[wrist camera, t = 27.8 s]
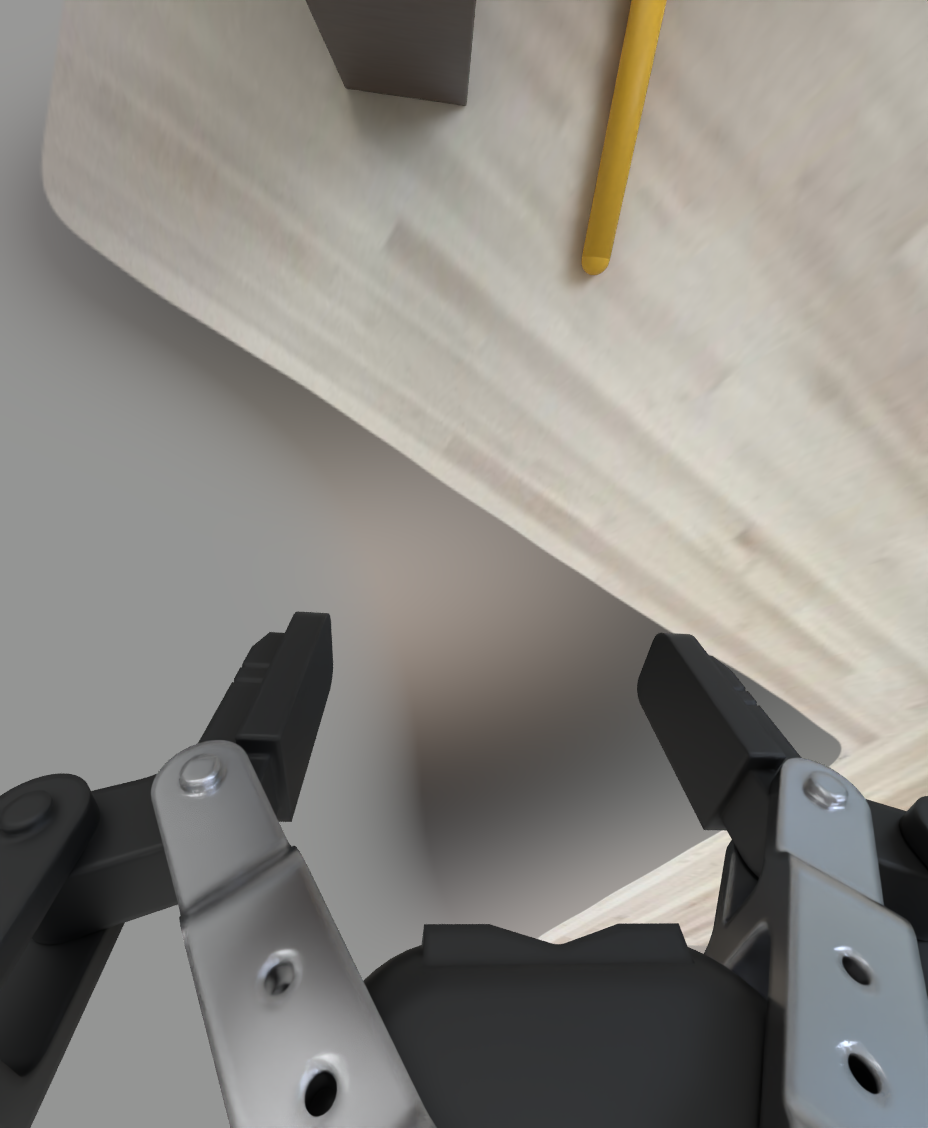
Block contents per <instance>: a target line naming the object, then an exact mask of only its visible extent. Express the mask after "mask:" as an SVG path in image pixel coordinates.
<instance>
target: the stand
mask: <svg viewBox="0 0 928 1128" xmlns="http://www.w3.org/2000/svg"><path fill="white" fill-rule="evenodd" d="M306 2H307V5H308V7H309V9H310V11H311V13H312V16H313V18H314V20H315V22H316V24H317V26H318V29H319V31H320V33H321V35H322V37H323V40H324V42H325V44H326V46H327V48H328V51H329V53H330V55H331V57H332V59H333V61H334V64H335V66H336V68H337V70H338V72H339V75H340V77H341V79H342V81H343V83H344V86H345V88H347V89H354V90H361V91H368V92H375V93H382V94H388V95H395V96H402V97H409V98H416V99H423V100H430V101H437V102H444V103H450V104H457V105H464V106H465V105H466V104H467V94H468V83H469V72H470V61H471V50H472V39H473V28H474V17H475V6H476V0H306Z"/></svg>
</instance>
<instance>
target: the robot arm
mask: <svg viewBox="0 0 928 1128" xmlns="http://www.w3.org/2000/svg"><path fill="white" fill-rule="evenodd" d="M332 674H333V654H332V635H331V619H330V615H329V614H328V613H311V612H295V614H294V615H293V617H292V619H291V621H290V623H289V626H288V628H287V630H286V632H285V633H275V632H269V633H268V634H267V635H266V636H265V637H263V638H262V639H261V640H260V641H258V642H257V643H256V644H255V645H254V646H252V648H251V649H250V651H249V653H248V655H247V657H246V659H245V660H244V662H243V664H242V668H240V669H239V671H238V673H237V674H236V676H235V678H234V683H233V682H232V683H231V685H230V687H229V689H228V691H227V692H226V694H225V696H224V698H223V700H222V701H221V703H220V705H219V707H218V709H217V710H216V712H215V714H214V716H213V718H212V719H211V721H210V723H209V725H208V726H207V728H206V730H205V732H204V734H203V735H202V737H201V739H200V740H199V742H198V743H197V744H196V745H193V746H190V747H188V748H186V749H184V750H183V751H181V752H179V753H178V754H176V755H175V756H174V757H173V758H171V759H170V760H169V761H168V762H167V763H166V764H165V765H164V766H163V767H162V768H161V769H160V771H159V772H158V774H155V775H153V776H150V777H147V778H143V779H140V780H136V781H131V782H127V783H123V784H119V785H115V786H111V787H107V788H102V789H98V790H94V791H90V788H89V787H88V785H87V783H86V782H85V781H84V780H83V779H82V778H80V777H78V776H76V775H72V774H51V775H46V776H42V777H39V778H35V779H32V780H30V781H28V782H25V783H22V784H20V785H18V786H16V787H14V788H12V789H10V790H9V791H7V792H6V793H4V794H2V795H1V796H0V1128H30V1127H31V1125H32V1123H33V1121H34V1119H35V1116H36V1114H37V1112H38V1110H39V1108H40V1105H41V1103H42V1101H43V1099H44V1097H45V1095H46V1092H47V1090H48V1088H49V1086H50V1084H51V1082H52V1079H53V1077H54V1075H55V1073H56V1071H57V1068H58V1066H59V1064H60V1062H61V1060H62V1058H63V1056H64V1053H65V1051H66V1049H67V1047H68V1045H69V1042H70V1040H71V1038H72V1036H73V1034H74V1031H75V1029H76V1027H77V1025H78V1023H79V1021H80V1018H81V1016H82V1014H83V1012H84V1010H85V1008H86V1006H87V1003H88V1001H89V999H90V997H91V994H92V992H93V990H94V988H95V986H96V984H97V982H98V979H99V977H100V975H101V973H102V971H103V969H104V966H105V964H106V962H107V960H108V958H109V955H110V953H111V951H112V949H113V947H114V945H115V943H116V940H117V938H118V936H119V934H120V932H121V929H122V927H123V925H124V923H125V922H127V921H130V920H133V919H136V918H139V917H142V916H145V915H148V914H151V913H154V912H156V911H160V910H163V909H166V908H168V907H171V906H174V905H177V904H178V905H179V909H180V915H181V916H180V926H181V931H182V935H183V940H184V944H185V948H186V952H187V956H188V960H189V964H190V968H191V972H192V976H193V980H194V984H195V988H196V992H197V996H198V1000H199V1004H200V1008H201V1012H202V1016H203V1020H204V1024H205V1028H206V1032H207V1036H208V1040H209V1044H210V1048H211V1052H212V1056H213V1060H214V1064H215V1068H216V1072H217V1076H218V1080H219V1084H220V1088H221V1092H222V1096H223V1100H224V1104H225V1108H226V1112H227V1116H228V1120H229V1124H230V1128H928V796H925V797H921V798H920V799H918V800H917V801H916V802H915V803H914V804H913V805H912V806H911V807H910V809H909V810H908V811H904V810H900V809H897V808H894V807H890V806H887V805H884V804H880V803H877V802H874V801H870V800H867V799H865V798H864V797H863V795H862V794H861V793H860V792H859V790H858V789H857V788H856V787H855V786H854V785H853V784H852V783H851V782H849V781H848V780H847V779H846V778H845V777H843V776H842V775H840V774H839V773H837V772H836V771H834V770H833V769H831V768H829V767H827V766H825V765H823V764H821V763H818V762H816V761H813V760H809V759H804V758H801V757H800V755H799V754H798V753H797V752H796V750H795V749H794V748H793V747H792V745H791V744H790V743H789V742H788V741H787V739H786V738H785V737H784V736H783V734H782V733H781V732H780V730H779V729H778V728H777V727H776V725H775V724H774V723H773V722H772V721H771V719H770V718H769V717H768V715H767V714H766V713H765V712H764V710H763V709H762V708H761V707H760V706H757V704H756V703H757V702H756V700H755V699H754V698H753V697H752V695H751V694H750V693H749V692H748V691H745V687H744V686H743V684H742V683H741V682H740V681H739V679H738V678H737V677H736V676H735V674H734V673H733V672H732V671H731V670H730V669H729V668H727V667H726V666H725V665H723V664H722V663H721V662H719V661H718V660H717V659H716V658H714V657H713V656H709V655H708V654H707V652H706V651H705V650H704V649H703V647H702V646H701V645H700V643H699V642H698V641H697V639H696V638H695V637H694V636H692V635H690V634H674V633H659V634H657V635H656V636H655V638H654V640H653V642H652V645H651V647H650V650H649V653H648V655H647V658H646V660H645V663H644V665H643V668H642V671H641V673H640V676H639V679H638V685H637V692H638V698H639V701H640V704H641V706H642V708H643V710H644V712H645V714H646V716H647V718H648V720H649V722H650V724H651V726H652V728H653V730H654V732H655V734H656V736H657V738H658V740H659V742H660V744H661V746H662V748H663V750H664V752H665V754H666V756H667V758H668V760H669V762H670V764H671V766H672V768H673V770H674V771H675V774H676V776H677V777H678V780H679V781H680V783H681V786H682V788H683V790H684V791H685V793H686V795H687V797H688V799H689V801H690V803H691V805H692V807H693V809H694V811H695V813H696V815H697V817H698V819H699V821H700V823H701V825H702V827H703V829H704V830H727V831H728V833H729V835H730V837H731V838H732V840H731V842H730V843H729V845H728V846H727V849H726V854H725V860H724V866H723V873H722V879H721V885H720V891H719V897H718V903H717V909H716V915H715V922H714V927H713V932H712V935H711V938H710V941H709V944H708V946H707V948H706V950H705V953H704V954H702V953H700V952H698V951H696V950H693V949H691V948H689V947H687V944H686V942H685V939H684V936H683V934H682V931H681V929H680V926H679V923H677V924H616V925H614V926H611V927H608V928H605V929H603V930H600V931H597V932H595V933H592V934H589V935H586V936H584V937H581V938H578V939H575V940H573V941H570V942H567V943H564V944H552V943H548V942H545V941H542V940H538V939H535V938H532V937H528V936H525V935H522V934H519V933H516V932H512V931H509V930H506V929H503V928H499V927H496V926H493V925H490V924H454V925H453V924H439V925H437V924H428V925H424V930H423V938H422V945H420V946H418V947H415V948H412V949H409V950H407V951H405V952H403V953H401V954H399V955H397V956H395V957H393V958H392V959H390V960H388V961H387V962H386V963H384V964H383V965H381V966H380V967H379V968H377V969H376V970H375V971H374V972H372V973H371V974H370V975H369V976H368V977H367V978H366V979H365V980H364V981H363V980H362V977H361V975H360V973H359V971H358V969H357V967H356V965H355V963H354V961H353V959H352V957H351V955H350V953H349V951H348V949H347V947H346V944H345V942H344V940H343V938H342V937H341V934H340V932H339V930H338V928H337V926H336V924H335V922H334V920H333V918H332V916H331V913H330V911H329V909H328V907H327V905H326V903H325V901H324V899H323V897H322V895H321V893H320V891H319V889H318V887H317V885H316V882H315V881H314V878H313V876H312V875H311V872H310V870H309V868H308V866H307V864H306V862H305V860H304V858H303V857H302V855H301V853H300V851H299V850H298V849H297V847H296V846H292V847H291V845H290V844H289V842H288V840H287V839H286V836H285V834H284V832H283V830H282V828H281V826H280V824H279V822H280V821H281V822H282V821H283V822H292V818H293V814H294V811H295V808H296V804H297V801H298V797H299V794H300V790H301V787H302V784H303V780H304V777H305V773H306V770H307V767H308V763H309V760H310V756H311V753H312V749H313V746H314V743H315V739H316V736H317V732H318V729H319V725H320V722H321V718H322V715H323V712H324V708H325V705H326V701H327V698H328V694H329V691H330V687H331V682H332Z"/></svg>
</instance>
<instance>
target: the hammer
mask: <svg viewBox="0 0 928 1128" xmlns="http://www.w3.org/2000/svg"><path fill="white" fill-rule="evenodd" d="M666 1H667V0H632V1H631V6H630V12H629V17H628V22H627V27H626V32H625V37H624V43H623V48H622V53H621V58H620V63H619V68H618V74H617V79H616V84H615V89H614V94H613V99H612V104H611V110H610V115H609V120H608V125H607V130H606V135H605V141H604V146H603V151H602V156H601V161H600V166H599V172H598V177H597V182H596V187H595V192H594V197H593V202H592V208H591V213H590V218H589V223H588V228H587V233H586V239H585V244H584V249H583V254H582V267H583V269H584V271H585V272H586V273H588V274H590V275H598V274H600V273H602V272H603V271H604V270H605V269H606V267H607V266H608V264H609V261H610V256H611V252H612V247H613V243H614V238H615V233H616V229H617V224H618V220H619V215H620V211H621V206H622V202H623V197H624V192H625V188H626V183H627V179H628V174H629V170H630V165H631V160H632V156H633V151H634V147H635V142H636V138H637V133H638V129H639V124H640V119H641V115H642V110H643V106H644V101H645V97H646V92H647V87H648V83H649V78H650V74H651V69H652V65H653V60H654V56H655V51H656V46H657V42H658V37H659V33H660V28H661V24H662V19H663V14H664V10H665V5H666Z"/></svg>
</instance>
